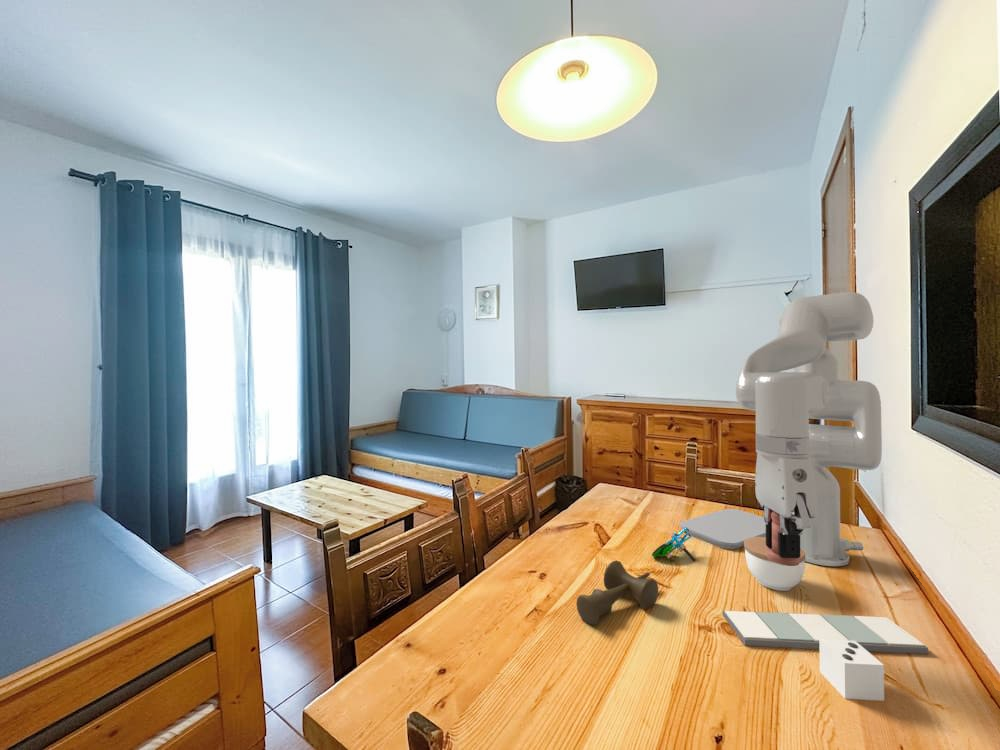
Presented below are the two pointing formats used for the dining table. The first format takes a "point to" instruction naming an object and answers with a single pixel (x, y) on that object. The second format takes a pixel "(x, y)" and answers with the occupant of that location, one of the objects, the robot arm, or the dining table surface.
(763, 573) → the lidded jar
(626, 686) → the dining table surface
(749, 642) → the track board
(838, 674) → the die
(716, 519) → the tablet
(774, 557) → the pawn
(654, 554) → the stick construction toy
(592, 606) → the kendama
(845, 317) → the robot arm
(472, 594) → the dining table surface
